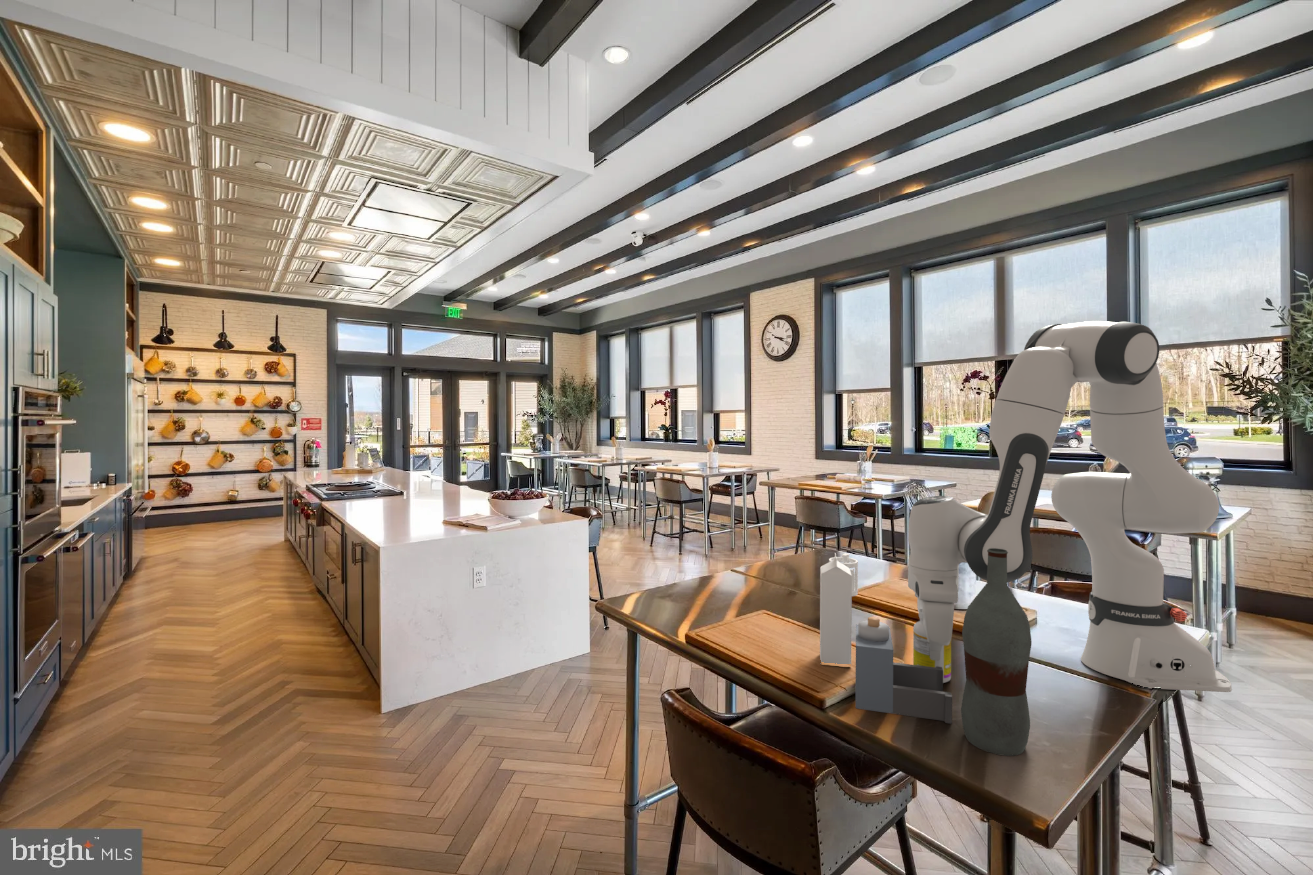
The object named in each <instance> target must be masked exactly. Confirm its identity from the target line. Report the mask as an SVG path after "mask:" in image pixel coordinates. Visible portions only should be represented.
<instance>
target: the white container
mask: <svg viewBox="0 0 1313 875" xmlns="http://www.w3.org/2000/svg"><path fill="white" fill-rule="evenodd" d="M836 558H837V561H839V562H840V563H842V564H843V565H845V566H847V567H848V568H850V571H851V575H852V597H856V596H857V595H858V594H859V589H858V587H859V586H858V585H859V560H857V559H856V558H852V557H850V553H843V554H841V556H836ZM833 560H835V556H834V557H830V558H828V563H829V562H831V561H833Z"/></svg>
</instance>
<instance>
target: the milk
mask: <svg viewBox="0 0 1313 875" xmlns="http://www.w3.org/2000/svg"><path fill="white" fill-rule="evenodd" d="M834 557H835V560H833V561H831V562H829V561H828V562H827V563H825V564H823V565H821V566H820V569H819V572H820V575H819V583H820V585H819V587H820V588H819V658H820V659H819V660H821V662H824V663H835V664H836V663H837V664H851V665H852V624H853V623H852V621H853V620H852V619H853V618H852V612H853V608H852V607H853V606H852V605H853V604H852V603H853V601H852V598H853V596H852V575H851V571H850V570H851V568H848V567H847V566H845V565H843V564H842V563H843V562H839V561H837V558H836V557H837V554H836V552H834Z"/></svg>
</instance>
